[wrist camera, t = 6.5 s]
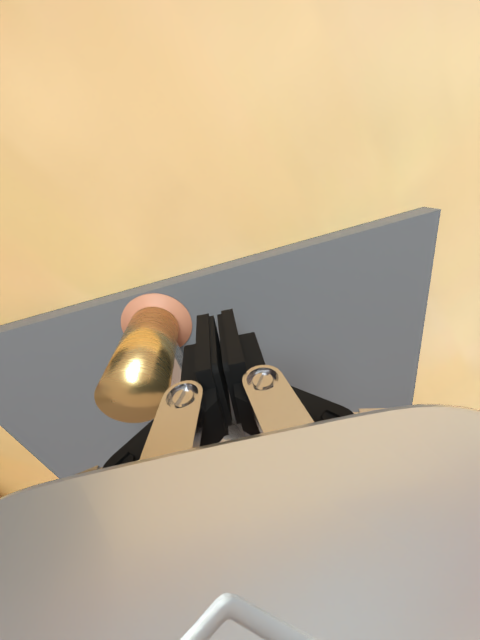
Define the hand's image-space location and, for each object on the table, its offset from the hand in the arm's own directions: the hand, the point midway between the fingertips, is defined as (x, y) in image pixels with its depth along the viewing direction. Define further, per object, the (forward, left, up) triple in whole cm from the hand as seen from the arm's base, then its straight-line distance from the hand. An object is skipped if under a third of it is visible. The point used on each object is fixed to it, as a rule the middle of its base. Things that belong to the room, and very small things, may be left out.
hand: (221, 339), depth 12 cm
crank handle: (+3, +7, -2) cm, 8 cm away
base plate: (+1, +6, -4) cm, 7 cm away
